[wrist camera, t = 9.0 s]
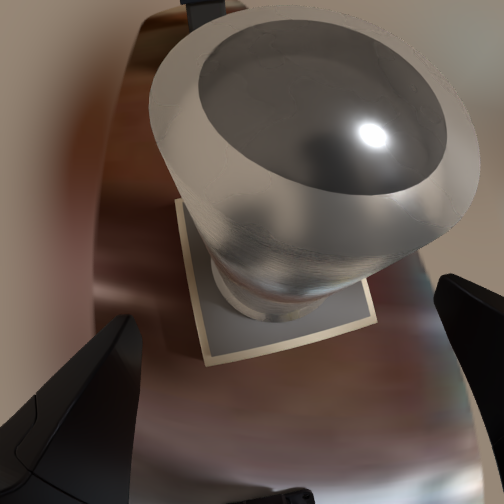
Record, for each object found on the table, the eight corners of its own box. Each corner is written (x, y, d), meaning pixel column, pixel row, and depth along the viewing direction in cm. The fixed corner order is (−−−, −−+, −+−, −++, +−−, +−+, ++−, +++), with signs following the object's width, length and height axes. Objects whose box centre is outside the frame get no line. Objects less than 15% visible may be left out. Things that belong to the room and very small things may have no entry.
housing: (348, 305, 16) (536, 233, 4) (226, 335, 15) (143, 347, 3) (315, 194, 17) (391, 9, 5) (202, 216, 17) (134, 22, 5)
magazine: (191, 90, 21) (172, -69, 10) (198, 61, 30) (187, -45, 19) (236, 84, 21) (224, -75, 10) (229, 57, 30) (220, -49, 19)
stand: (361, 324, 18) (380, 322, 15) (211, 362, 18) (204, 367, 15) (321, 187, 21) (330, 166, 18) (183, 215, 20) (173, 196, 17)
